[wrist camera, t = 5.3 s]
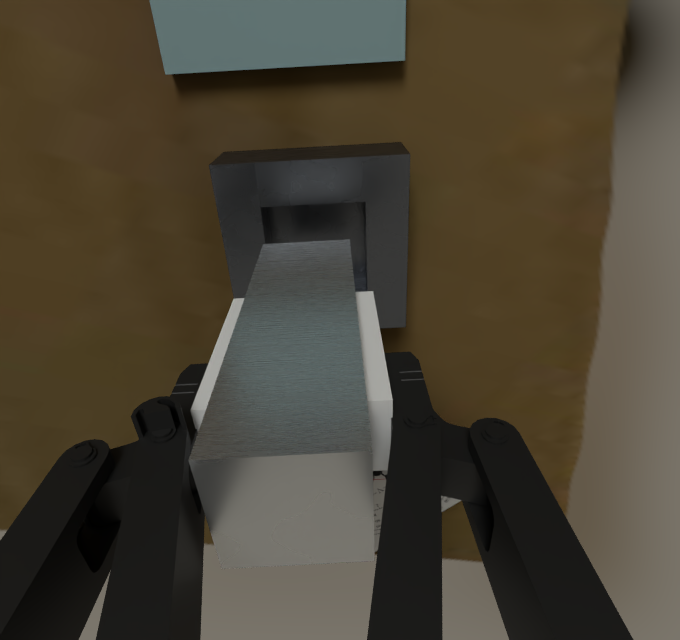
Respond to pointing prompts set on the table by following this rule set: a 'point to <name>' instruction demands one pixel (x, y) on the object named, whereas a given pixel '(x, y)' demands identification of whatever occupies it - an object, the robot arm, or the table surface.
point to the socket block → (320, 211)
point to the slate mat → (277, 33)
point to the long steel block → (290, 419)
